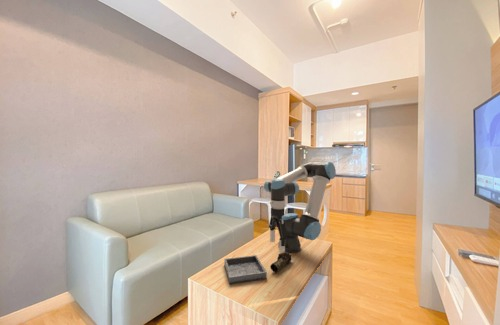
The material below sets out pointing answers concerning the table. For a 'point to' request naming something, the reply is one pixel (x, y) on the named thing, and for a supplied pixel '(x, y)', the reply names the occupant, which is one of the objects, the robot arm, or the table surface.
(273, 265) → the metal pipe
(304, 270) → the table surface
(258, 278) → the grey square tray
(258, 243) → the table surface
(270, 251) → the table surface
